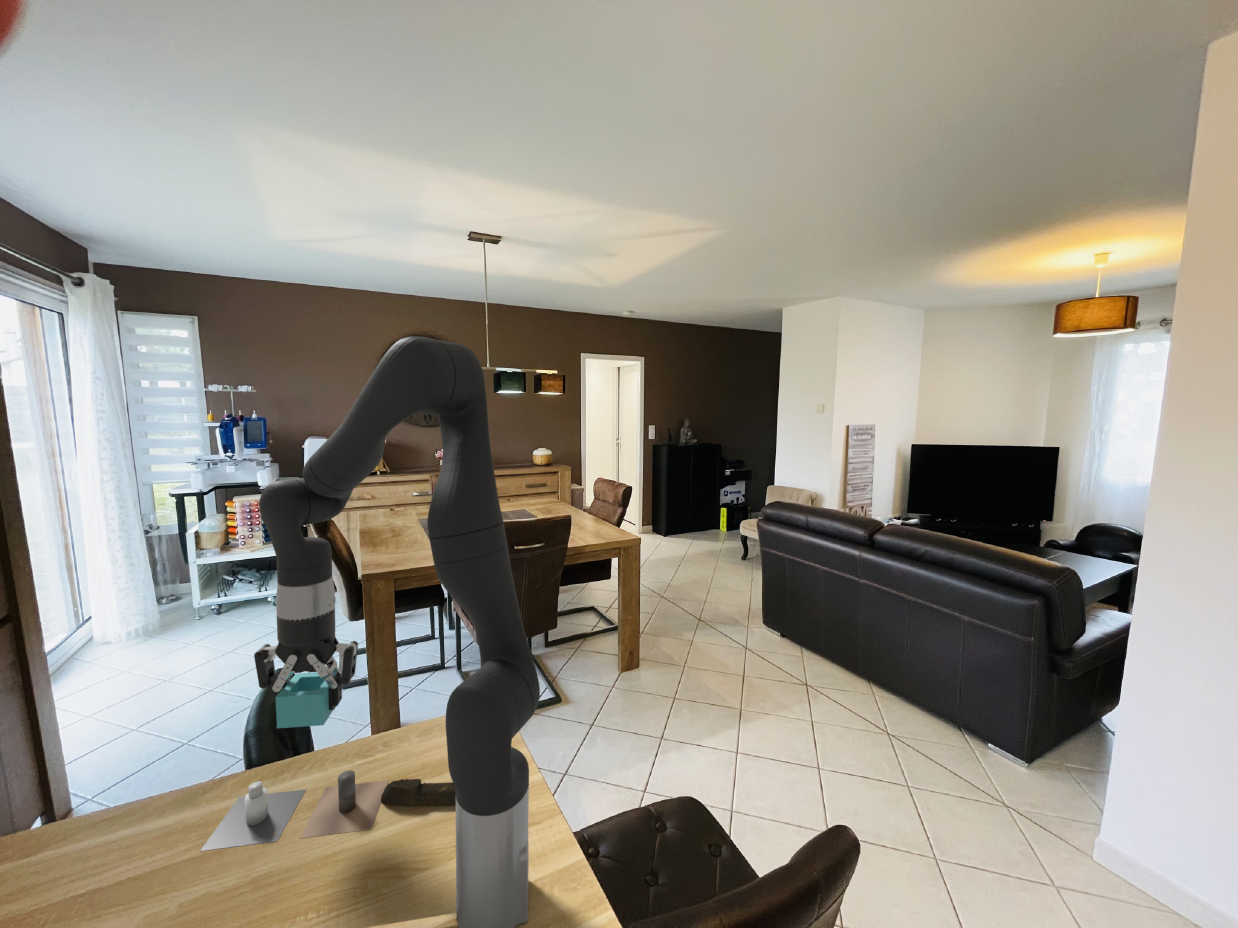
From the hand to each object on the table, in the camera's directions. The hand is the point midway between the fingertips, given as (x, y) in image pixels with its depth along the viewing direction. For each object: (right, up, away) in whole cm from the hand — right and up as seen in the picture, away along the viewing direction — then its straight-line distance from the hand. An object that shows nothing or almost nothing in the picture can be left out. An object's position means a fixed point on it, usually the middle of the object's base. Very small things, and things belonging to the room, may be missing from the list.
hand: (309, 708), depth 76 cm
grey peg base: (-8, -18, 0) cm, 20 cm away
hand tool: (+19, -19, +4) cm, 27 cm away
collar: (0, -1, 0) cm, 1 cm away
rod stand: (+5, -18, +3) cm, 19 cm away
